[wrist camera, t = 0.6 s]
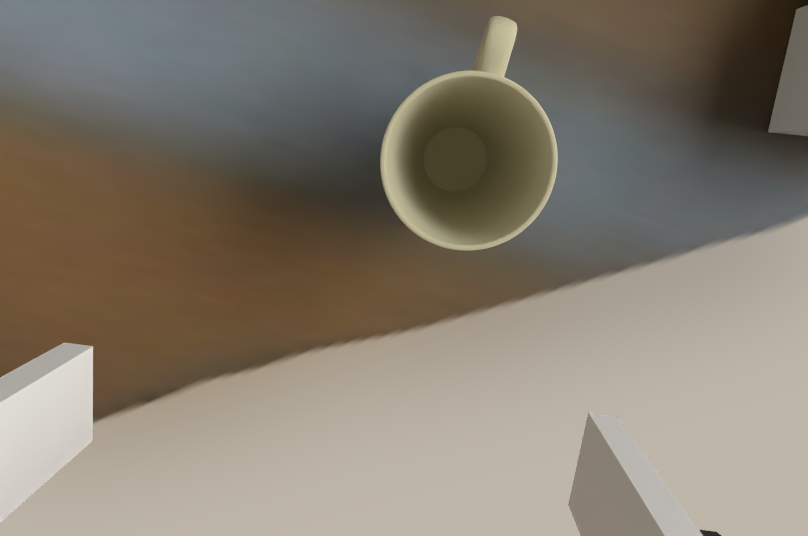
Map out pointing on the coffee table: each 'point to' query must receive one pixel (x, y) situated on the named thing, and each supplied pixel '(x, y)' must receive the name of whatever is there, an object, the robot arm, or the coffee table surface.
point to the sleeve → (793, 82)
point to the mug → (470, 153)
